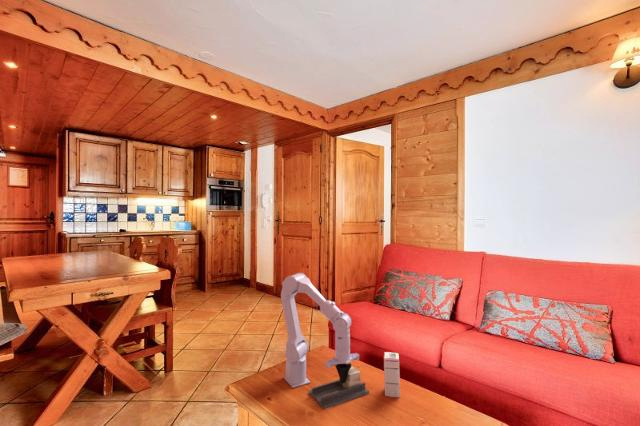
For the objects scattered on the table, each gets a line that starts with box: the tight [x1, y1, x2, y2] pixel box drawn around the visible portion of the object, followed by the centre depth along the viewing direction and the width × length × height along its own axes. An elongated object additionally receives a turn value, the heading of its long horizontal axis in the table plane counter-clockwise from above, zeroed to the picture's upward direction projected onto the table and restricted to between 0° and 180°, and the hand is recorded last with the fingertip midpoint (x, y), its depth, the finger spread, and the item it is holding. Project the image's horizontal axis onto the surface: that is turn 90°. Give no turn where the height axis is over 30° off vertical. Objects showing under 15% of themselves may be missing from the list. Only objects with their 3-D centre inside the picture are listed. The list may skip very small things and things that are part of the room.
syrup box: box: [383, 351, 401, 398], centre depth 121 cm, size 6×6×14 cm
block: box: [343, 366, 361, 388], centre depth 124 cm, size 5×5×6 cm
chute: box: [308, 378, 370, 410], centre depth 121 cm, size 12×20×3 cm, turn 119°
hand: (342, 381), depth 122 cm, fingers closed
